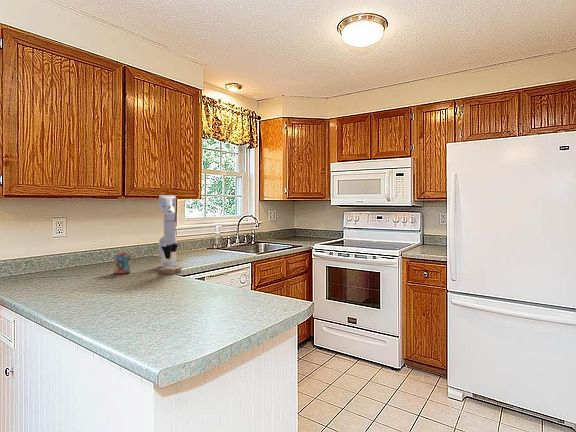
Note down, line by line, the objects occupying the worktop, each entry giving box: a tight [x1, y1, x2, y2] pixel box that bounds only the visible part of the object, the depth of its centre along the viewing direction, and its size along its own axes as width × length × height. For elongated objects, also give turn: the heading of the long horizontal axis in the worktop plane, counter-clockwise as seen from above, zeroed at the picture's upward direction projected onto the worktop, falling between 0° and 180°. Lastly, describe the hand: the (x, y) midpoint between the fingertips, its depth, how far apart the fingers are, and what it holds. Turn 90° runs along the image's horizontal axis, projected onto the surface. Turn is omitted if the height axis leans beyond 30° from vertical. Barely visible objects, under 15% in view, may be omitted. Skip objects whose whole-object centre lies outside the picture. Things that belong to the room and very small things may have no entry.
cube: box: [163, 251, 177, 262], centre depth 205 cm, size 5×5×5 cm
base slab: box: [157, 266, 182, 276], centre depth 205 cm, size 9×9×2 cm
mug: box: [112, 252, 137, 275], centre depth 202 cm, size 12×9×11 cm
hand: (170, 257), depth 205 cm, fingers closed on cube, 5 cm apart
